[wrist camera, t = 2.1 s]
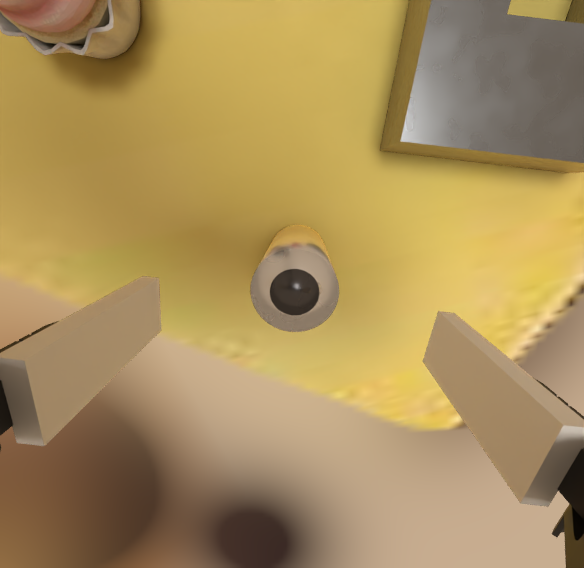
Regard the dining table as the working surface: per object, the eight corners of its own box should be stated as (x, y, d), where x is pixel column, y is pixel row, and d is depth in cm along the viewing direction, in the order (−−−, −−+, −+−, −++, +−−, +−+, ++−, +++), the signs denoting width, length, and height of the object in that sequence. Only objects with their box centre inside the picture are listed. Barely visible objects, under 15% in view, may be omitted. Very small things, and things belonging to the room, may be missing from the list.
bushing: (272, 221, 24) (253, 244, 15) (329, 228, 24) (346, 254, 15) (267, 275, 26) (247, 326, 17) (321, 281, 26) (331, 336, 17)
